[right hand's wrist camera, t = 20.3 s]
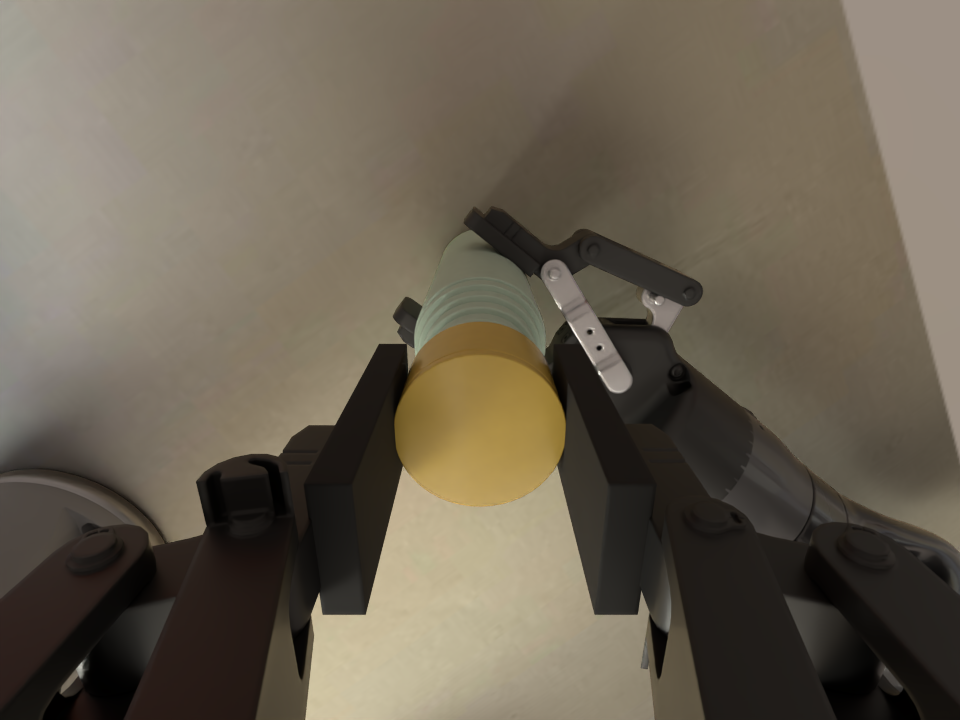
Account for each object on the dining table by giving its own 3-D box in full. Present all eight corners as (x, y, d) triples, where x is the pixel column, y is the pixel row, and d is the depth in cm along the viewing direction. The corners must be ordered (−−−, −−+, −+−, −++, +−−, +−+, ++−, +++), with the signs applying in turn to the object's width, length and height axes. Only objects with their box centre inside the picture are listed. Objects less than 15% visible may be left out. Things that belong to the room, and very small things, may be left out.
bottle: (423, 259, 30) (347, 397, 13) (491, 212, 29) (507, 292, 12) (469, 323, 31) (457, 525, 14) (535, 280, 30) (607, 441, 13)
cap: (376, 379, 14) (356, 422, 12) (492, 290, 13) (495, 318, 11) (469, 477, 16) (467, 533, 13) (581, 401, 15) (600, 447, 12)
